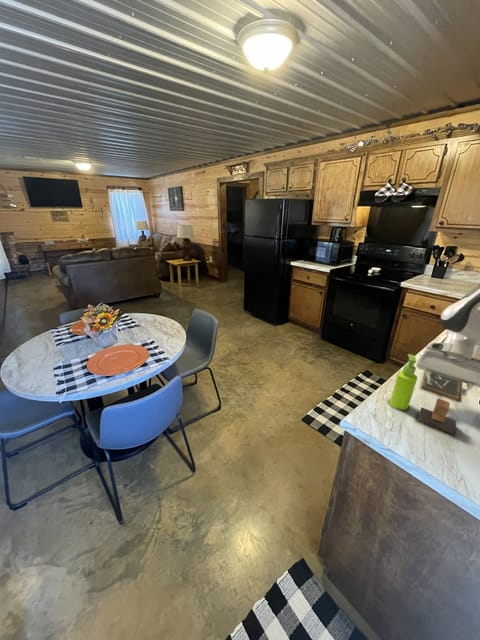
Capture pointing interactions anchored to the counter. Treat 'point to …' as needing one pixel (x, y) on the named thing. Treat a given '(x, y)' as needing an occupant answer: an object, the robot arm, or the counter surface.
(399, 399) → the soap dispenser
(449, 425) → the eraser
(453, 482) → the counter surface
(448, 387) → the chalkboard
